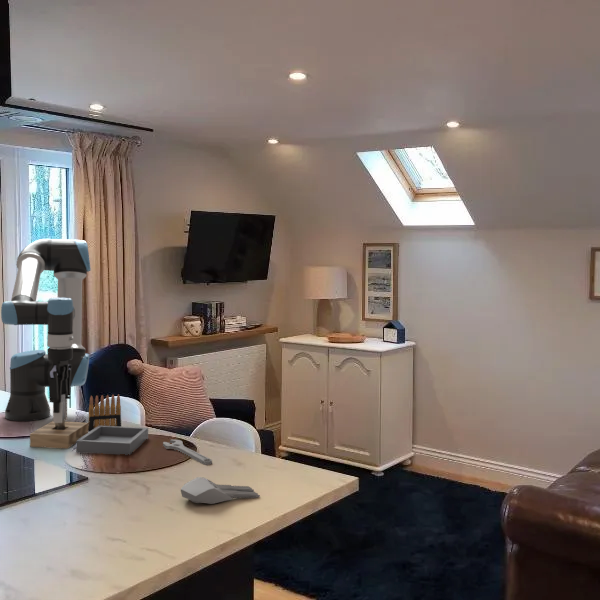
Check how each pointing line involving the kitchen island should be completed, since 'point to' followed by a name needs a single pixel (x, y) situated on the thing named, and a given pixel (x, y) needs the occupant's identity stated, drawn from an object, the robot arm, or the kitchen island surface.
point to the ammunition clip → (104, 413)
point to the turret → (214, 491)
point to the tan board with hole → (58, 435)
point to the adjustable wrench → (187, 451)
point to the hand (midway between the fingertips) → (60, 420)
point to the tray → (112, 440)
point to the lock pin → (62, 425)
